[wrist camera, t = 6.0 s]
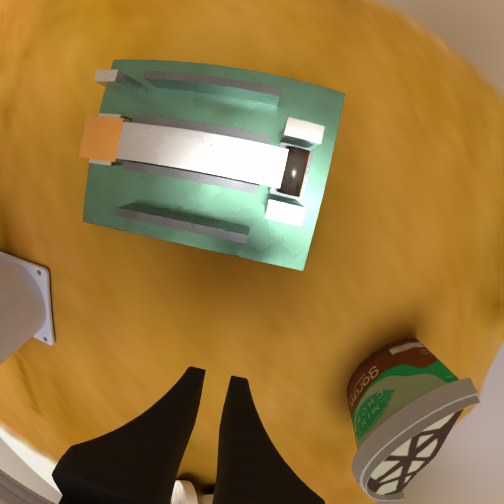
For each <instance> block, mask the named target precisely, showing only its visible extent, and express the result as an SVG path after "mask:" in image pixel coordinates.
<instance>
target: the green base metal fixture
mask: <svg viewBox="0 0 504 504" xmlns="http://www.w3.org/2000/svg"><path fill="white" fill-rule="evenodd" d="M94 82H96V83H99V84H101V85H103V86H105V87H106V89H105V93H104V96H103V100H102V104H101V108H100V113H98V116H100V117H115V118H125V119H128V120H130V123H140V124H149V125H158V126H166V127H173V128H180V129H187V130H194V131H200V132H206V133H212V134H218V135H223V136H229V137H234V138H239V139H244V140H249V141H254V142H258V143H263V144H268V145H272V146H276V147H281V148H285V149H286V147H287V146H295V147H299V148H303V149H306V150H309V151H310V154H309V159H308V163H307V167H306V172H305V176H304V180H303V184H302V189H301V193H300V197H295V196H291V195H287V194H283V193H279V192H276V191H277V188H275V187H271V186H266V185H262V184H257V183H253V182H248V181H243V180H239V179H234V178H229V177H224V176H219V175H214V174H209V173H203V172H198V171H193V170H187V169H181V168H176V167H170V166H164V165H158V164H151V163H145V162H138V161H131V160H124V159H122V162H111V161H104V160H96V159H89V163H90V165H89V171H88V178H87V186H86V194H85V203H84V214H83V222H87V223H91V224H96V225H100V226H104V227H109V228H113V229H118V230H122V231H126V232H131V233H135V234H139V235H144V236H148V237H153V238H157V239H162V240H166V241H170V242H175V243H179V244H184V245H188V246H193V247H197V248H202V249H206V250H211V251H215V252H220V253H224V254H229V255H233V256H238V257H242V258H247V259H251V260H256V261H260V262H265V263H270V264H274V265H279V266H283V267H288V268H293V269H297V270H302V271H303V269H304V265H305V262H306V258H307V254H308V251H309V247H310V243H311V240H312V236H313V232H314V228H315V224H316V220H317V217H318V213H319V209H320V205H321V201H322V197H323V192H324V188H325V184H326V180H327V176H328V171H329V167H330V163H331V158H332V154H333V149H334V145H335V140H336V136H337V131H338V126H339V121H340V117H341V112H342V107H343V102H344V96H345V94H344V93H341V92H338V91H335V90H331V89H328V88H324V87H321V86H317V85H314V84H310V83H306V82H302V81H298V80H294V79H290V78H285V77H281V76H276V75H271V74H266V73H261V72H256V71H250V70H244V69H238V68H232V67H225V66H217V65H209V64H200V63H190V62H178V61H161V60H114V61H113V65H112V68H111V70H97V73H96V76H95V80H94Z"/></svg>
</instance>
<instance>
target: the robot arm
mask: <svg viewBox="0 0 504 504" xmlns="http://www.w3.org/2000/svg"><path fill="white" fill-rule="evenodd" d="M40 272H41V273H40ZM32 337H34V338H36V339H38V340H40V341H43V342H45V343H47V344H49V345H53V344H54V343H55V339H54V331H53V322H52V312H51V299H50V281H49V271H48V270H47V268H45V267H42V266H39V265H36V264H34V263H31V262H28V261H25V260H23V259H20V258H17V257H14V256H12V255H9V254H7V253H4V252H1V251H0V365H1V364H2V363H3V362H4V361H5V360H6V359H7V358H9V357H10V356H11V355H12V354H13V353H14V352H15V351H17V350H18V349H19V348H20V347H21V346H22V345H23V344H25V343H26V342H27V341H28V340H29V339H30V338H32ZM205 371H206V370H204V369H200V368H196V367H189V368H188V369H187V370H186V372H185V373H184V374H183V376H182V377H181V378H180V379H179V381H178V382H177V383H176V384H175V385H174V386H173V387H172V388H171V389H170V390H169V391H168V392H167V393H166V394H165V395H164V396H163V397H162V398H161V399H160V400H159V401H157V402H156V403H155V404H154V405H153V406H152V407H150V408H149V409H148V410H147V411H145V412H144V413H142V414H141V415H140V416H138V417H137V418H135V419H134V420H132V421H130V422H129V423H127V424H125V425H123V426H122V427H120V428H118V429H116V430H114V431H112V432H109V433H107V434H105V435H103V436H100V437H98V438H95V439H92V440H89V441H86V442H83V443H80V444H76V445H73V446H71V447H70V448H69V449H68V450H67V451H66V453H65V454H64V455H63V456H62V457H61V459H60V460H59V462H58V464H57V465H56V467H55V469H54V471H53V473H52V477H53V479H54V482H55V483H56V485H57V487H58V488H59V490H60V492H61V493H62V495H63V496H62V498H61V500H60V502H59V504H170V502H171V498H172V493H173V489H174V485H175V481H176V477H177V472H178V469H179V466H180V463H181V460H182V457H183V455H184V452H185V449H186V447H187V444H188V441H189V438H190V436H191V433H192V430H193V427H194V425H195V421H196V417H197V413H198V409H199V404H200V399H201V393H202V387H203V382H204V376H205ZM0 504H55V503H53V502H51V501H49V500H47V499H46V498H44V497H42V496H40V495H39V494H37V493H35V492H34V491H32V490H30V489H28V488H27V487H25V486H24V485H22V484H21V483H19V482H18V481H16V480H15V479H13V478H12V477H10V476H9V475H7V474H6V473H5V472H3V471H2V470H1V469H0ZM212 504H325V502H324V500H323V499H322V498H321V497H319V496H318V495H317V494H316V493H315V492H313V491H312V490H311V489H310V488H309V487H308V486H307V485H306V484H305V483H304V482H303V481H302V480H301V479H300V478H299V477H298V476H297V475H296V474H295V473H294V472H293V470H292V469H291V468H290V467H289V466H288V465H287V463H286V462H285V461H284V460H283V458H282V457H281V455H280V454H279V453H278V451H277V450H276V448H275V446H274V445H273V443H272V442H271V440H270V438H269V436H268V434H267V433H266V431H265V429H264V427H263V425H262V422H261V420H260V418H259V415H258V413H257V410H256V408H255V405H254V402H253V399H252V396H251V392H250V388H249V383H248V380H247V379H246V378H241V377H236V376H231V379H230V383H229V387H228V391H227V395H226V399H225V403H224V407H223V412H222V418H221V423H220V429H219V445H218V464H217V477H216V484H215V490H214V496H213V502H212Z"/></svg>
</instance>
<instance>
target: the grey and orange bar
mask: <svg viewBox="0 0 504 504" xmlns="http://www.w3.org/2000/svg"><path fill="white" fill-rule="evenodd" d="M309 154H310V151H309V150H306V149H303V148H299V147H295V146H287V147H286V149H285V148H281V147H276V146H272V145H268V144H263V143H258V142H254V141H249V140H244V139H239V138H234V137H229V136H223V135H218V134H212V133H206V132H200V131H194V130H187V129H180V128H173V127H166V126H158V125H149V124H140V123H130V120H128V119H125V118H115V117H100V116H86V120H85V125H84V130H83V135H82V140H81V146H80V151H79V157H80V158H88V159H96V160H104V161H111V162H122V159H124V160H131V161H138V162H145V163H151V164H158V165H164V166H170V167H176V168H181V169H187V170H193V171H198V172H203V173H209V174H214V175H219V176H224V177H229V178H234V179H239V180H243V181H248V182H253V183H257V184H262V185H266V186H271V187H275V188H277V191H276V192H279V193H283V194H287V195H291V196H295V197H300V193H301V189H302V184H303V180H304V176H305V172H306V167H307V163H308V159H309Z"/></svg>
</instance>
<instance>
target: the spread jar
mask: <svg viewBox="0 0 504 504" xmlns="http://www.w3.org/2000/svg"><path fill="white" fill-rule="evenodd" d="M214 490H215V489H214ZM214 490H210V491H207V492H204V493H203V494H202V495H201V497H200V500H199V504H212V502H213V496H214ZM171 500H172V501H171V502H172V504H198V502H197V496H196V492H195V489H194V486H193V485H192V483H191V482H190V481H184V480H176V481H175V485H174V489H173V493H172V498H171Z"/></svg>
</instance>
